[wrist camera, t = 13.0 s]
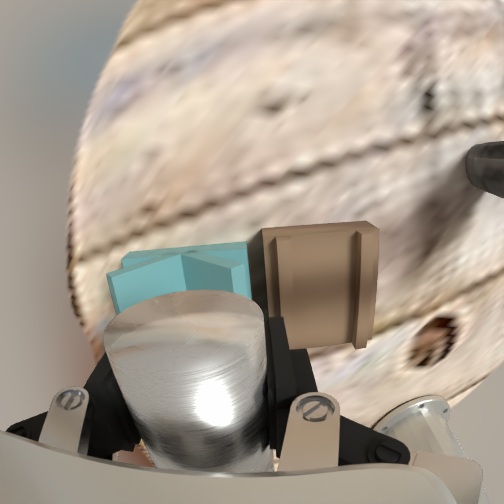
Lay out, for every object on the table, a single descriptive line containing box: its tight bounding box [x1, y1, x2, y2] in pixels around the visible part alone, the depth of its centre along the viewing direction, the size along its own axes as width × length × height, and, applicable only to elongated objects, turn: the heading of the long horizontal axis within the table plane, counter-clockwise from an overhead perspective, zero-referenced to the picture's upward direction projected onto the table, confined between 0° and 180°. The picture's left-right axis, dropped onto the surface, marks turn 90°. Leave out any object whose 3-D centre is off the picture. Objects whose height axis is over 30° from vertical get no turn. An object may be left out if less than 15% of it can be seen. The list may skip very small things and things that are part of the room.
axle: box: [103, 290, 275, 473], centre depth 10 cm, size 12×4×4 cm, turn 5°
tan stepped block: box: [262, 221, 379, 349], centre depth 25 cm, size 10×9×4 cm
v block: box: [106, 242, 252, 315], centre depth 25 cm, size 12×10×6 cm
